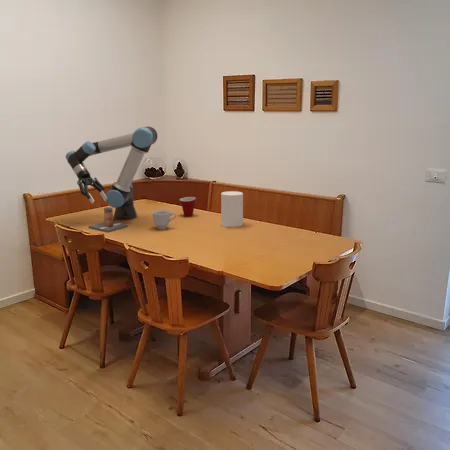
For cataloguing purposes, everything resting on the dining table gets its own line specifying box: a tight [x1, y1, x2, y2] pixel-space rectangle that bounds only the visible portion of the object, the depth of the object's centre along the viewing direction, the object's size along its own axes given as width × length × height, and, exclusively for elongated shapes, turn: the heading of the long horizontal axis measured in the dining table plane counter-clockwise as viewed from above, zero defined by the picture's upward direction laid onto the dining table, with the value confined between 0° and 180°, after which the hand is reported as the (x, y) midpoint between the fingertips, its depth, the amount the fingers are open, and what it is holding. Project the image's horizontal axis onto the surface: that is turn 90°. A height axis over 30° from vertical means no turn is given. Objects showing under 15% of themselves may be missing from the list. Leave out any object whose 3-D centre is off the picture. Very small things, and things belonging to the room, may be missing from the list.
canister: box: [220, 190, 244, 228], centre depth 304 cm, size 14×14×20 cm
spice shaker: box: [103, 207, 114, 227], centre depth 297 cm, size 5×5×11 cm
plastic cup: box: [179, 196, 196, 218], centre depth 328 cm, size 11×11×12 cm
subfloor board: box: [88, 221, 129, 233], centre depth 300 cm, size 16×18×1 cm
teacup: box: [151, 209, 177, 230], centre depth 297 cm, size 12×15×10 cm
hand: (99, 201), depth 298 cm, fingers open, 9 cm apart
